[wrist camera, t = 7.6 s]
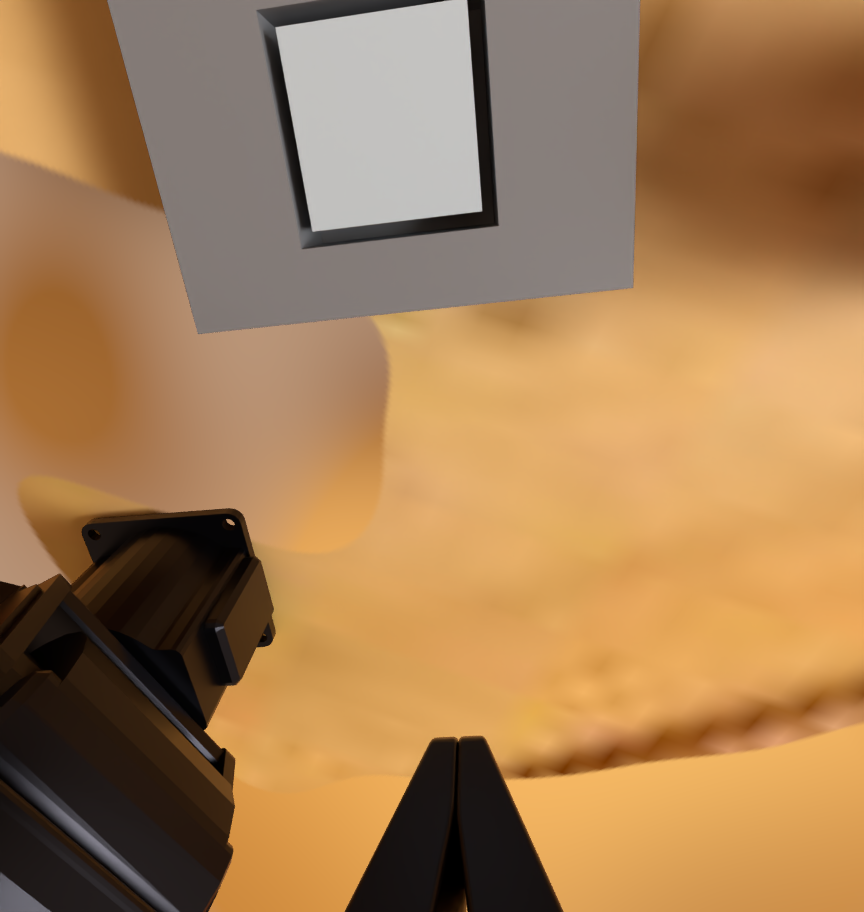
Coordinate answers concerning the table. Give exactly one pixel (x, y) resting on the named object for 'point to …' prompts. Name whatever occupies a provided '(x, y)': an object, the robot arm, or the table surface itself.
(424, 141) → the bluegrey key
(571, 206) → the keypad
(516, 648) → the table surface
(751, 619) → the table surface
